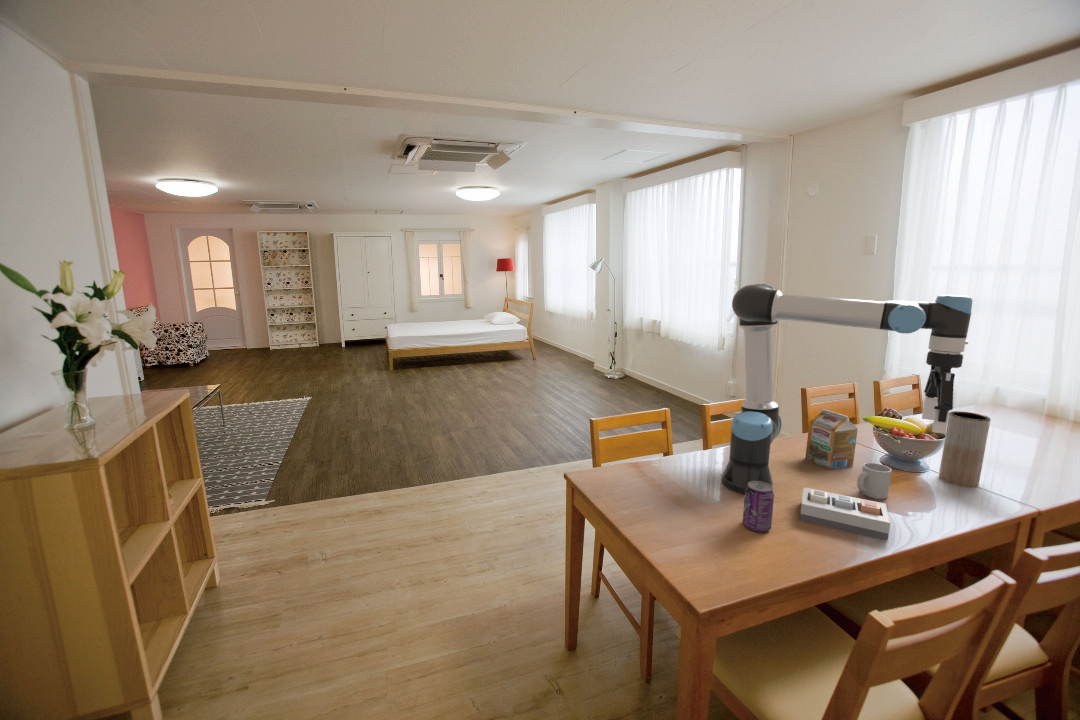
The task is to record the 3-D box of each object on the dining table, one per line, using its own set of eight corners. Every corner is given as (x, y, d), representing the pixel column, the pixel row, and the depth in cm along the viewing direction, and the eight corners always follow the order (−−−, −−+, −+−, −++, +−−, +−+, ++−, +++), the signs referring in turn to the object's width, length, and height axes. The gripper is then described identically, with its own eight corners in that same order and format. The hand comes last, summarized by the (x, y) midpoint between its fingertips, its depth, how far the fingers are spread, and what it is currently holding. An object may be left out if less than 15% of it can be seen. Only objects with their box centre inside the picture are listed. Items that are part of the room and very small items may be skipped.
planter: (949, 485, 153) (960, 418, 149) (932, 473, 163) (942, 409, 158) (986, 489, 151) (998, 421, 147) (966, 476, 160) (977, 411, 156)
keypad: (799, 520, 132) (801, 503, 131) (801, 502, 142) (803, 487, 141) (887, 540, 122) (890, 523, 121) (883, 520, 132) (885, 503, 131)
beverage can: (746, 517, 133) (750, 477, 131) (773, 525, 129) (777, 485, 127) (738, 527, 128) (742, 486, 126) (766, 536, 123) (770, 494, 121)
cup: (893, 498, 145) (897, 471, 143) (866, 501, 143) (870, 473, 141) (872, 487, 152) (876, 461, 150) (846, 490, 150) (850, 464, 148)
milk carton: (805, 458, 175) (810, 409, 172) (827, 455, 179) (832, 407, 175) (830, 469, 166) (836, 418, 162) (852, 466, 169) (859, 415, 165)
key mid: (834, 509, 130) (835, 499, 130) (834, 503, 134) (835, 493, 133) (851, 513, 128) (853, 502, 128) (851, 507, 132) (852, 497, 131)
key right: (860, 515, 127) (862, 504, 127) (859, 509, 131) (861, 498, 130) (878, 519, 125) (880, 508, 125) (877, 512, 129) (878, 502, 128)
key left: (809, 504, 133) (811, 494, 133) (810, 498, 137) (811, 488, 136) (826, 508, 131) (827, 497, 131) (826, 502, 135) (827, 491, 134)
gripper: (977, 360, 117) (962, 441, 121) (951, 346, 138) (939, 416, 142) (938, 357, 120) (925, 436, 124) (919, 344, 142) (908, 412, 146)
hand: (932, 425), depth 133 cm, fingers open, 13 cm apart
